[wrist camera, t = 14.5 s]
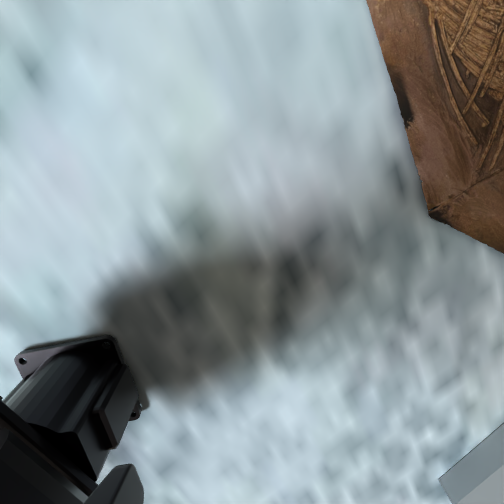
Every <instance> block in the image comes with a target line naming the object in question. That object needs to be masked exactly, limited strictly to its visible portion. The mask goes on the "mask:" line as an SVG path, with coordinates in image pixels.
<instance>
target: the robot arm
mask: <svg viewBox="0 0 504 504" xmlns="http://www.w3.org/2000/svg"><path fill="white" fill-rule="evenodd" d="M105 342H108V343H109V344H110V345H106V344H105ZM23 358H24V359H26V360H27V361H26V360H24V359H23ZM14 361H15V364H16V366H17V368H18V370H19V372H20V374H21V376H22V378H23V380H22V381H21V382H20V383H19V384H18V385H17V386H16V387H15V388H14V389H13V390H12V391H11V393H10V394H9V395H8V396H7V397H6V398H5V399H4V400H3V401H2V399H3V398H2V397H1V396H0V504H143V501H144V489H143V486H142V483H141V481H140V478H139V476H138V473H137V471H136V468H135V466H134V465H133V464H124V465H119V466H116V467H114V468H113V469H112V470H111V471H110V473H109V474H108V475H107V476H106V477H105V478H104V480H103V481H102V482H101V483H100V484H99V485H98V484H97V483H96V481H97V479H98V477H99V474H100V472H101V470H102V467H103V465H104V463H105V460H106V458H107V456H108V454H109V451H110V450H111V449H116V447H117V446H118V444H119V443H120V440H121V438H122V435H123V433H124V430H125V428H126V426H127V423H128V421H132V420H136V419H138V418H139V417H140V414H141V411H142V409H141V406H140V403H139V401H138V396H139V394H138V392H137V389H136V386H135V383H134V381H133V378H132V375H131V373H130V370H129V367H128V366H127V365H126V364H125V363H124V360H123V357H122V354H121V352H120V349H119V346H118V344H117V341H116V339H115V338H114V337H113V336H110V335H105V336H100V337H95V338H89V339H84V340H79V341H73V342H68V343H63V344H57V345H52V346H47V347H41V348H36V349H31V350H25V351H22V352H20V353H19V354H18V355H17V356H16V357H15V359H14ZM132 411H134V412H135V413H133V412H132Z"/></svg>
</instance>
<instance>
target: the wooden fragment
mask: <svg viewBox="0 0 504 504" xmlns="http://www.w3.org/2000/svg"><path fill="white" fill-rule="evenodd" d="M366 1H367V4H368V7H369V10H370V13H371V17H372V21H373V25H374V28H375V31H376V35H377V37H378V40H379V45H380V46H381V50H382V54H383V57H384V60H385V63H386V66H387V70H388V73H389V75H390V78H391V82H392V85H393V88H394V91H395V93H396V95H397V99H398V104H399V108H400V111H401V116H402V118H403V120H404V125H405V130H406V132H407V136H408V140H409V144H410V148H411V151H412V154H413V157H414V161H415V165H416V167H417V169H418V175H419V176H421V177H420V180H422V181H423V182H422V189H423V193H424V196H425V199H426V202H427V208H428V214H429V216H430V217H431V218H433V219H435V220H437V221H439V222H442V223H444V224H448V225H449V226H451V227H452V228H454V229H456V230H458V231H460V232H463V233H465V234H466V235H469V236H471V237H472V238H474V239H476V240H478V241H480V242H482V243H484V244H487V245H488V246H490V247H492V248H494V249H496V250H498V251H500V252H502V253H504V0H366ZM440 204H441V205H440ZM439 205H440V206H439ZM436 206H439V207H438V208H435V209H434V207H436ZM432 208H433V210H432V211H429V210H430V209H432Z"/></svg>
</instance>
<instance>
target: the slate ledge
mask: <svg viewBox="0 0 504 504" xmlns="http://www.w3.org/2000/svg"><path fill="white" fill-rule="evenodd" d="M438 480H439V482H440V484H441V486H442V487H443V489H444V491H445V492H446V494H447V496H448V497H449V499H450V501H451V503H452V504H504V423H503V424H502V425H501V426H500V427H499V428H498V429H496V430H495V431H494V432H493V433H492V434H491V435H489V436H488V437H487V438H486V439H485V440H484V441H483V442H481V443H480V444H479V445H478V446H477V447H476V448H474V449H473V450H472V451H471V452H470V453H469V454H467V455H466V456H465V457H464V458H463V459H462V460H460V461H459V462H458V463H457V464H456V465H455V466H453V467H452V468H451V469H450V470H449V471H448V472H446V473H445V474H444V475H443V476H442V477H441V478H440V479H438Z"/></svg>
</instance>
